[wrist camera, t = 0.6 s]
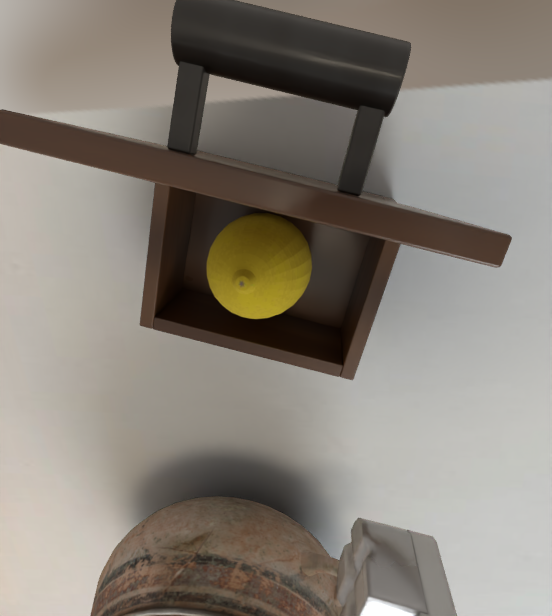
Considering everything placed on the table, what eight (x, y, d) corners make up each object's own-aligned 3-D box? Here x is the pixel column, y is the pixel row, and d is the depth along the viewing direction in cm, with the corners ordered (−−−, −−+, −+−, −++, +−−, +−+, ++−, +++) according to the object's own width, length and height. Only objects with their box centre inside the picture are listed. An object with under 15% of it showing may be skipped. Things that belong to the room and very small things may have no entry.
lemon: (241, 197, 26) (195, 208, 19) (328, 220, 26) (317, 241, 18) (224, 281, 28) (175, 321, 20) (304, 304, 27) (285, 354, 20)
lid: (501, 269, 10) (593, 43, 9) (-5, 142, 10) (1, -97, 9) (410, 224, 20) (445, 116, 18) (153, 160, 20) (168, 49, 19)
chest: (348, 336, 29) (353, 381, 24) (173, 292, 30) (139, 326, 24) (393, 198, 26) (411, 214, 20) (193, 149, 26) (157, 151, 21)
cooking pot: (204, 638, 44) (162, 812, 32) (74, 519, 39) (-28, 673, 28) (422, 553, 36) (464, 743, 25) (289, 394, 32) (268, 536, 20)
